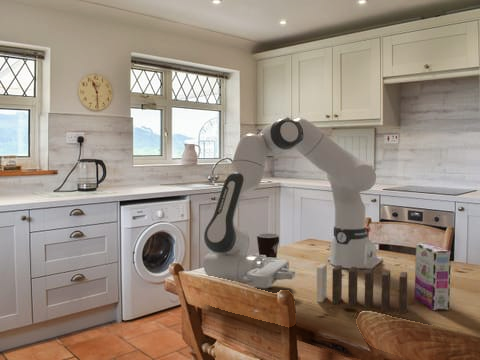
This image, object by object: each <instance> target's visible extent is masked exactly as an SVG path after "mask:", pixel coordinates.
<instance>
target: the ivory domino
mask: <svg viewBox="0 0 480 360" xmlns="http://www.w3.org/2000/svg"><path fill="white" fill-rule="evenodd" d="M327 267H328V265H327V263H320V264H319V265H318V266H317V267H316V302H318V303H323V302H324V300H326V298H327V295H328V294H327V291H328V290H327V277H328V276H327V274H328V273H327Z"/></svg>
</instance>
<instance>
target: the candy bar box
mask: <svg viewBox="0 0 480 360" xmlns="http://www.w3.org/2000/svg"><path fill="white" fill-rule="evenodd" d="M451 264H452V251H451V250H448V249H446V248H443V247H441V246H438V245H435V244H432V243H427V242H426V243H424V242H423V243H415V266H414V267H415V275H414V299H416V300H417V301H418V302H420V303H422V304H423V305H424V306H426V307H427V308H429V309H430V310H432V311H438V312H440V311H449V310H450V297H451V296H450V295H451V294H450V293H451V292H450V288H451V267H452V266H451Z"/></svg>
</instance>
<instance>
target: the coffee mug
mask: <svg viewBox="0 0 480 360" xmlns="http://www.w3.org/2000/svg"><path fill="white" fill-rule="evenodd" d="M256 240H257V241H256V242H257V247H258V255H266V258H267V257H272V258H278V256H277V255H278V248H279V246H278V245H279V243H280V235H279V234H278V233H269V232H268V233H259V234H257V235H256Z"/></svg>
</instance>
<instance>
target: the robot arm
mask: <svg viewBox="0 0 480 360" xmlns="http://www.w3.org/2000/svg"><path fill="white" fill-rule="evenodd" d="M237 143H238V144H237V147H236V148H235V151H234V155H233V157H232V162H231V167H230V170H229V173H228V176H227V177H226V179H225V181H224V183H223V186H222V189H221V192H220V194H219V197H218V201H217V204H216V207H215V211H214V213H213V216H212V218H211V219H210V221H209V222H208V224H207V225H206V227H205V230H204V233H203V239H204V244H205V245H206V247H207V248H208V249H209V250H210V251H209V252H208V253H207V254H206V255H205V256H204V259H203V271H204V273H205V275H206V276H207V275H208V276H214V277H218V278H223V279H227V280H231V281H235V282H234V283H238V282H239V283H238V284H240V283H242V284H241V285H247V286H251V287H255V288H259V289H268V288H269V287H271V286H273V285H274V284H275V283H276V282H277V281H281V280H293V278H295V277H296V271H294V270H290V262H289V261H288V259H285V258H278V257H276V258H272V257H267V258H266V255H259V254H258V255H247V252H248V250H249V246H250V237H249V235H248V233H247V231H245V230H244V229H242V228H240V227H239V226H237V225H235V221H234V220H235V217H236V212H237V209H238V206H239V204H240V203H239V202H240V199H241V197H242V196H243V195H244V194H245V193H248V192H252V191H254V190H255V189H257V188H258V187H259V186H260V184H261V182H262V180H263V177H264V171H265V167H266V161H267V159H268V158H274V157H276V156H279V155H281V154H284V153H286V151H288V150H291V149H295V150H297V151H298V152H299V153H300V154H301V155H302V156H304V157H305V158H306V159H307V160H308V161H309V162H310V163H312V164H313V165H314V166H315V167H316V168H317V169H319V170H321V171H322V172H324V173H326V176H327V180H328V182H329V184H330V187H331V192H332V196H333V202H334V204H333V205H334V226H333V230H332V231H333V238H332V239H331V244H330V252H329V257H327V261H328V262H329V263H330V265H332V266H334V267H335V266H336V265H340V266H342V269H351V267H358V269H368V268H370V269H374V268H375V267H377V265H379V263H381V262H382V261H384V259H383V257H381V256H379V255H377V246H376V244H375V243H374V242H373V241H371V239H370V238H369V237H368V233H370V232H371V227H370V226H366V206H365V203H364V202H363V200H362V195H361V193H362V192H366V191H369V190H371V189H372V188H373V187H374V186H375V184H376V181H377V173H376V170H375V169H374V168H373V166H371V165H370V164H368V163H365V162H364V161H362V160H361V159H360V158H359V157H357V156H355V155H354V154H353V153H351V152H349V151H348V150H346V149H345V148H343V147H342V146H340V145H339V144H338V143H337V142H335V141H334V140H333V139H332V138H331V137H330V136H328V135H327V134H326V133H325V132H324V131H323V130H322V129H320V128H319V127H318V126H317V125H315V124H314V123H312V122H311V121H309V120H307V119H305V118H303V117H298V118H296V119H295V118H294V119H291V118H280V119H277V120H275V121H274V122H272V123H269V124H267V125H266V126H265V127H264V128H263V129H261V130H259V131H258V132H257V133H247V134H243V135H242V137H241V138H240V139H239V141H238V142H237ZM208 276H207V277H208Z"/></svg>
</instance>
